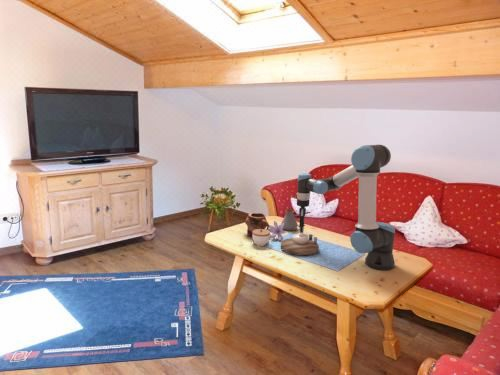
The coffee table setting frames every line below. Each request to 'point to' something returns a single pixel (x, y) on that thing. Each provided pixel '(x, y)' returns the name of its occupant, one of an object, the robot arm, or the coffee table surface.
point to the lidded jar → (260, 236)
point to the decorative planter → (256, 222)
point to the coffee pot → (290, 220)
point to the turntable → (300, 247)
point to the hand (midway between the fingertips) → (300, 236)
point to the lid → (300, 238)
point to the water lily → (276, 231)
